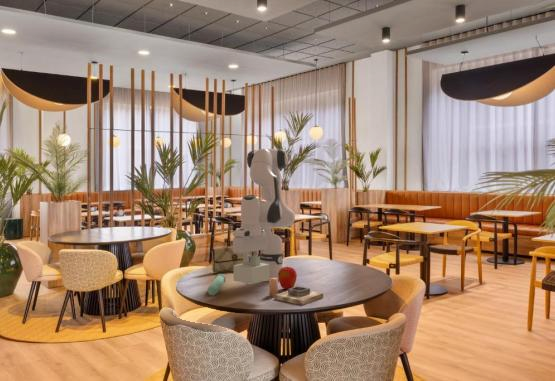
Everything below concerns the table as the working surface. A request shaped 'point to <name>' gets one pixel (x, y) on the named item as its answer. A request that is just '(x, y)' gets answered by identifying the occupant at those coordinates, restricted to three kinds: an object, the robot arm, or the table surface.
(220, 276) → the pale green rod
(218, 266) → the clutch purse
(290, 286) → the apple
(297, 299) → the socket plate
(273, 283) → the pin
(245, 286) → the table surface
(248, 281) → the housing
